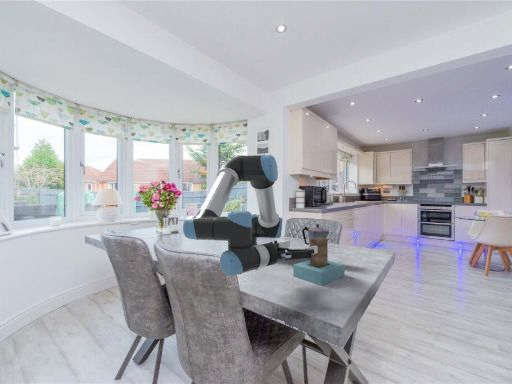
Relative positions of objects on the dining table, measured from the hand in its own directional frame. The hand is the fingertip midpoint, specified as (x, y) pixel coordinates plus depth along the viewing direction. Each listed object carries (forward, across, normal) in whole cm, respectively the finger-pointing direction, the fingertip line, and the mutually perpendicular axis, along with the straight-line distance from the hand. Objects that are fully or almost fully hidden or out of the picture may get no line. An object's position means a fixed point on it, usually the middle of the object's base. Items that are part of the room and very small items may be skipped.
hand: (302, 246), depth 97 cm
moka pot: (+27, -13, -15) cm, 33 cm away
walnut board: (+11, 0, -14) cm, 18 cm away
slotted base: (+11, 0, -14) cm, 18 cm away
